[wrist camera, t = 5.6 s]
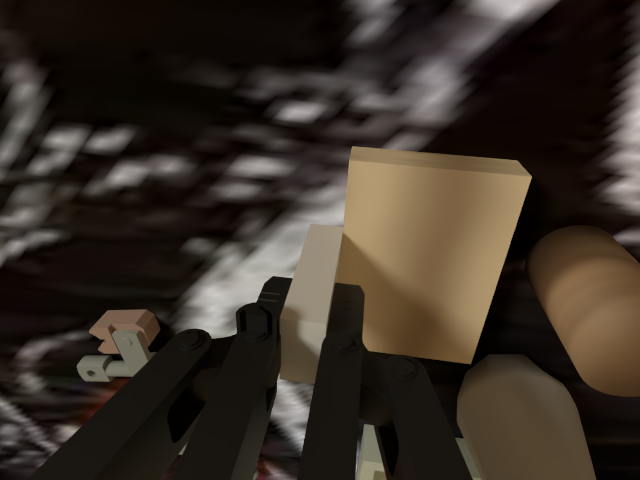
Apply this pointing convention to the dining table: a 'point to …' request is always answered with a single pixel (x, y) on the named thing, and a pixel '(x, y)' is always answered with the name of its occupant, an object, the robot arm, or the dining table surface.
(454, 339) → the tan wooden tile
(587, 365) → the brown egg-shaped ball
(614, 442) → the dining table surface
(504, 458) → the salt shaker
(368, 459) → the tray
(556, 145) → the dining table surface
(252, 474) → the robot arm
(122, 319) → the clamp
